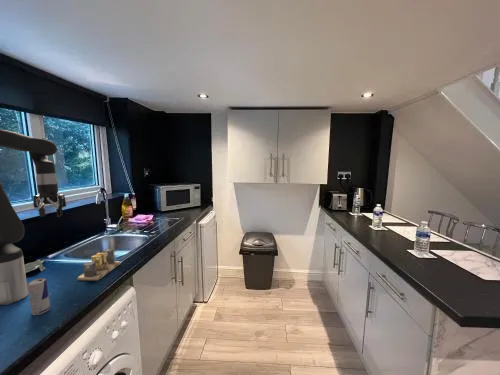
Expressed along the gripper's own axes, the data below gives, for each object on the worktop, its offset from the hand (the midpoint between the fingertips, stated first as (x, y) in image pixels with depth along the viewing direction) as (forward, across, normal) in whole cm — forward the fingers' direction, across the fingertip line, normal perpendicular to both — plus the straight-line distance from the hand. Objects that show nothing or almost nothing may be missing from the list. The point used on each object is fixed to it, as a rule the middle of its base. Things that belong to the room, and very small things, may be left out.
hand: (51, 216), depth 116 cm
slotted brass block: (+26, +19, +4) cm, 32 cm away
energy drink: (+30, +18, -28) cm, 45 cm away
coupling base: (+30, +19, +4) cm, 36 cm away
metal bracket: (+31, -19, +2) cm, 36 cm away
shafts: (+25, +19, +4) cm, 31 cm away
